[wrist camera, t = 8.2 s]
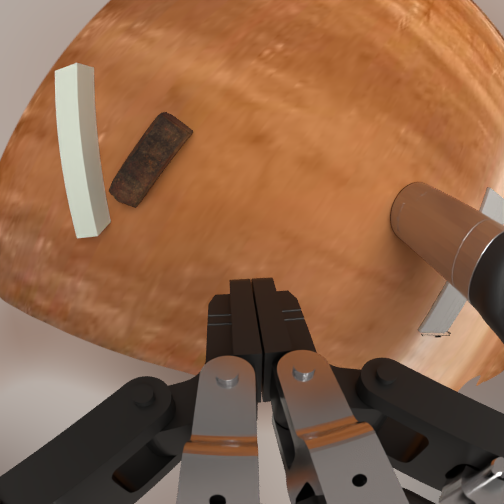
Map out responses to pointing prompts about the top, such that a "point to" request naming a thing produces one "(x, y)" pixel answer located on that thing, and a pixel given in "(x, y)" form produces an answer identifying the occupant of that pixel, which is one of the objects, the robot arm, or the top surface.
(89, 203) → the board
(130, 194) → the brick
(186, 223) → the top surface
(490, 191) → the baseboard molding
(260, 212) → the top surface
